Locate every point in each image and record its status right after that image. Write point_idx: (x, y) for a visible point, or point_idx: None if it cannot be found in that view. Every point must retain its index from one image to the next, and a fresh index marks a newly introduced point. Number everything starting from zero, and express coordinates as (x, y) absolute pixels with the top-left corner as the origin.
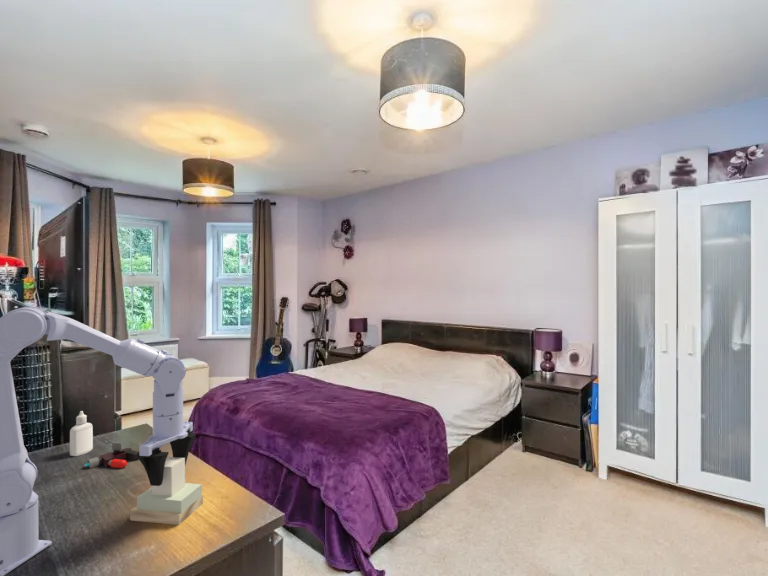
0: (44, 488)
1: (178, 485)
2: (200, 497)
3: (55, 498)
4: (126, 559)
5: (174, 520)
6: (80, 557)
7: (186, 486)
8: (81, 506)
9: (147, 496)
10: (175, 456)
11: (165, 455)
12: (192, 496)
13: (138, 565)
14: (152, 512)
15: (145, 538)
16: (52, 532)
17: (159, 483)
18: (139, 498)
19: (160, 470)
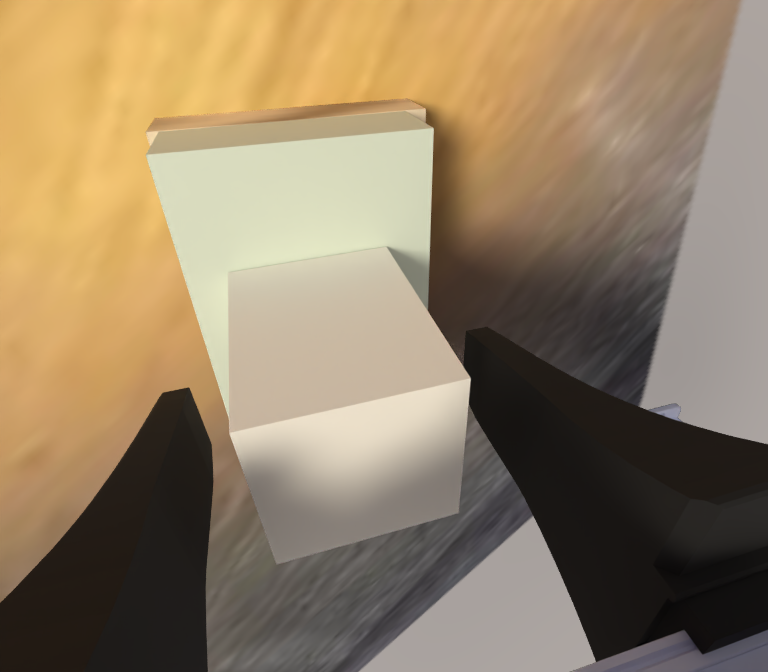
0: (302, 664)
1: (317, 277)
2: (179, 128)
3: (338, 613)
4: (656, 144)
5: None
6: (616, 312)
7: (235, 253)
8: None
9: None
10: (200, 533)
11: (730, 476)
12: (288, 132)
13: (707, 51)
14: None
15: (524, 185)
16: (492, 480)
17: (499, 336)
18: None
19: (590, 387)
